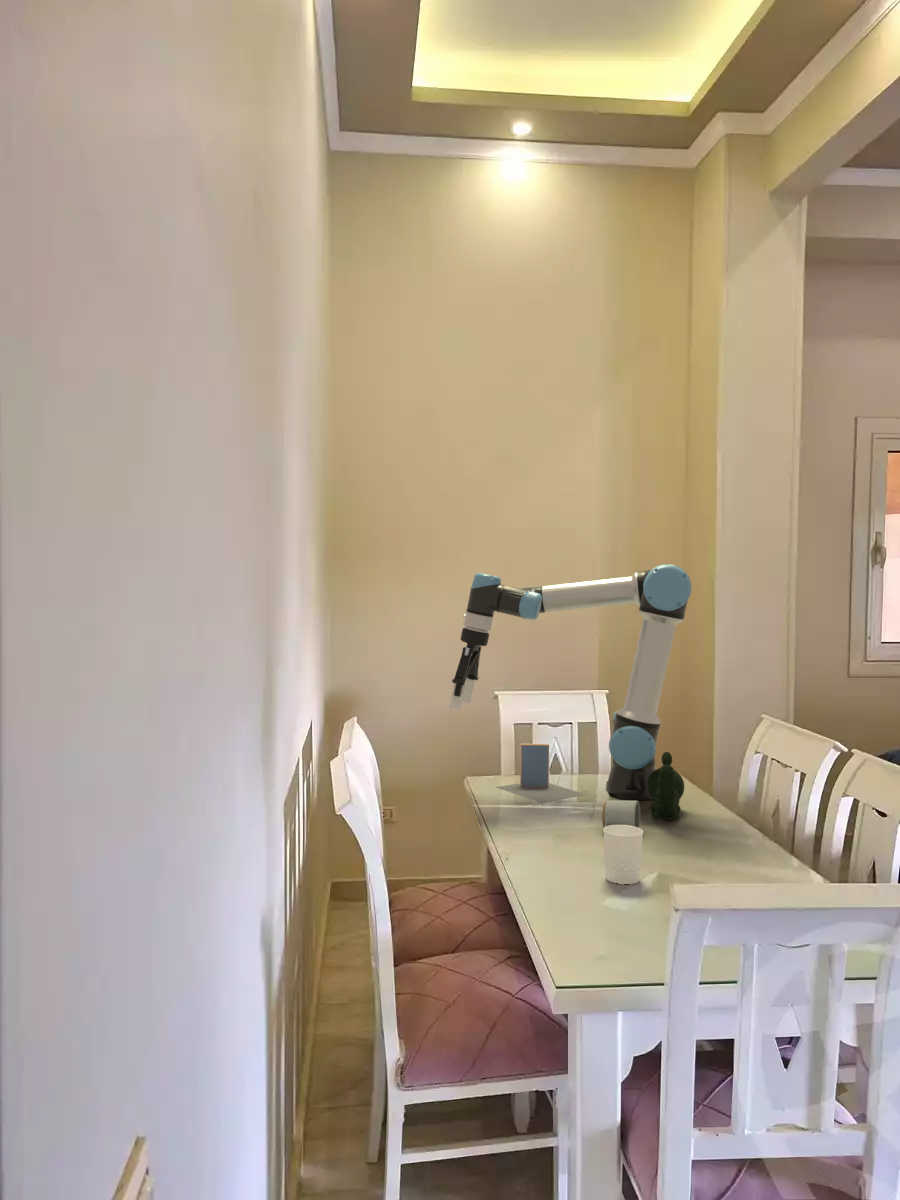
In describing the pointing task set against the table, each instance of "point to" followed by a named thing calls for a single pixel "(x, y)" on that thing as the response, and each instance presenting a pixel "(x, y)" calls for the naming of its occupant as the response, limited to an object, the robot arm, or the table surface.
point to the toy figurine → (665, 790)
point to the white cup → (623, 853)
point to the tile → (534, 765)
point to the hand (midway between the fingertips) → (460, 704)
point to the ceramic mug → (621, 813)
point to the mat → (542, 792)
